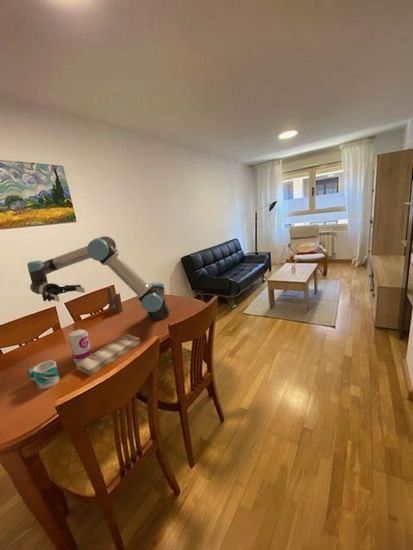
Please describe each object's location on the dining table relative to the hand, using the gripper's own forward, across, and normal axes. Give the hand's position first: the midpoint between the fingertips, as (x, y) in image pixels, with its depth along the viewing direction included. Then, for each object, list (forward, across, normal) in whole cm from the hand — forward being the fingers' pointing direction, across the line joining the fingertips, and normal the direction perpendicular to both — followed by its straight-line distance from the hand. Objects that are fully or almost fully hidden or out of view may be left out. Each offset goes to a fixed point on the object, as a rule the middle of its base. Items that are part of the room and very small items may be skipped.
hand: (71, 294), depth 125 cm
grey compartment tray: (+23, -1, -30) cm, 38 cm away
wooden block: (-22, -40, -30) cm, 55 cm away
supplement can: (+13, +8, -30) cm, 34 cm away
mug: (+13, +26, -30) cm, 42 cm away
